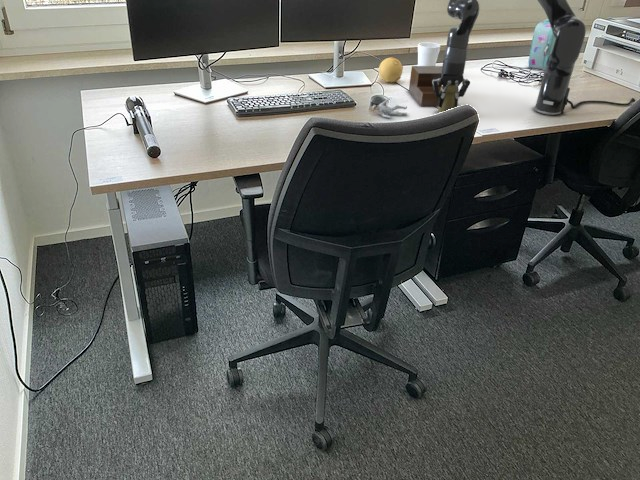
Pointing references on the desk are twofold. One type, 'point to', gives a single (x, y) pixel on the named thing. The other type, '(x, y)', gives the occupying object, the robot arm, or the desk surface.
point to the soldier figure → (388, 109)
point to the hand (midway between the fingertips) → (446, 107)
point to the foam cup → (428, 53)
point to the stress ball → (390, 69)
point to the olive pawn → (448, 98)
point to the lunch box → (541, 45)
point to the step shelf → (425, 84)
